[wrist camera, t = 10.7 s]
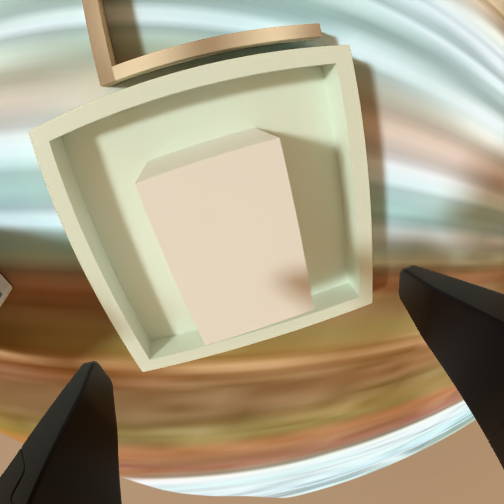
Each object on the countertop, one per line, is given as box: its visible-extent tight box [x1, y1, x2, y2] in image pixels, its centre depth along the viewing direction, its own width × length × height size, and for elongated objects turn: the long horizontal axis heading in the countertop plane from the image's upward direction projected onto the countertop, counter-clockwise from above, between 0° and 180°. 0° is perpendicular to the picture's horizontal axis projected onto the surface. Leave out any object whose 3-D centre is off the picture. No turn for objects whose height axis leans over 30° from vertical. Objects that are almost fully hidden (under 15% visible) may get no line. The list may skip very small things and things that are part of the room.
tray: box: [28, 45, 373, 372], centre depth 18 cm, size 17×17×2 cm
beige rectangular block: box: [135, 127, 314, 345], centre depth 16 cm, size 6×9×5 cm, turn 14°
